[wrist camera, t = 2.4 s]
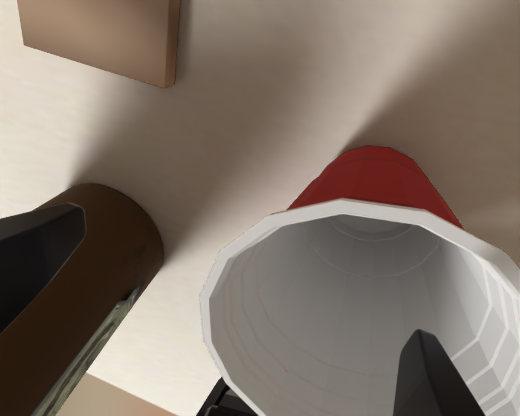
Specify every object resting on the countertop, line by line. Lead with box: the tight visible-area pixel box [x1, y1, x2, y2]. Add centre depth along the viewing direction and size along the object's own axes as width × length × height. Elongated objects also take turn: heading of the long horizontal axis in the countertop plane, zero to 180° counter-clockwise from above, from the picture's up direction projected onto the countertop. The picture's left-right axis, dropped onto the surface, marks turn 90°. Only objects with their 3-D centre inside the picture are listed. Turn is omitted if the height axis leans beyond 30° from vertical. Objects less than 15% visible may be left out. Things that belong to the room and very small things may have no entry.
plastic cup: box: [200, 146, 520, 416], centre depth 16 cm, size 11×11×12 cm
